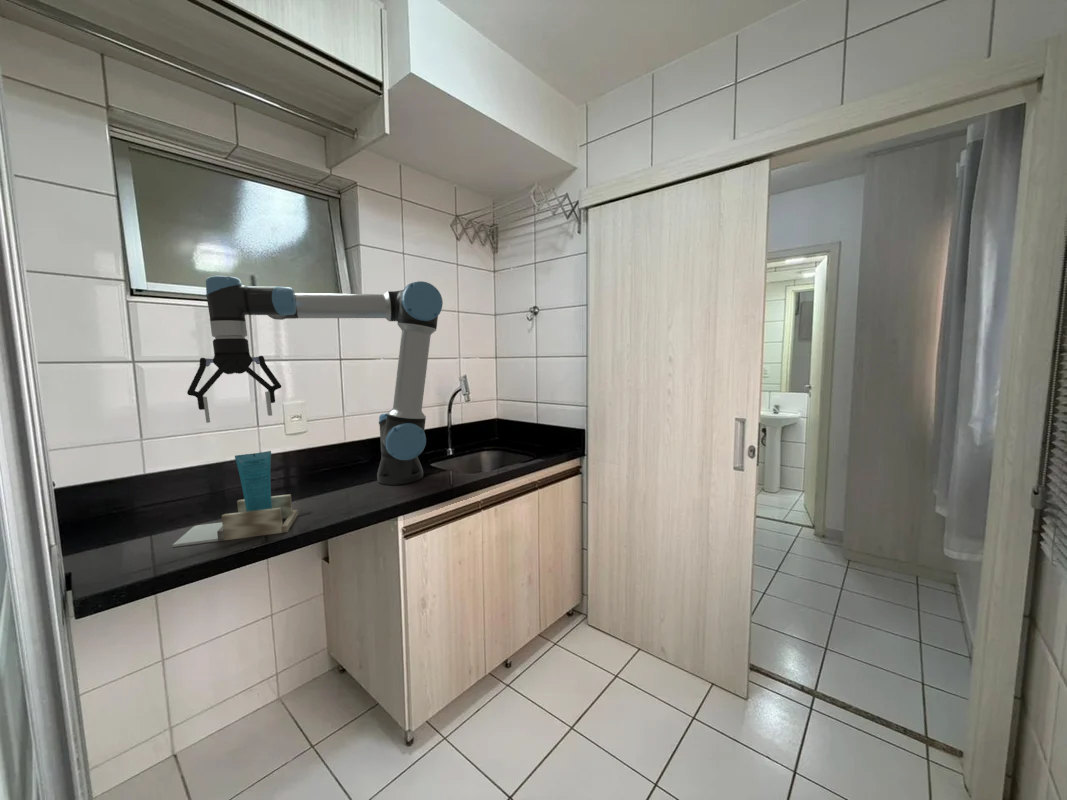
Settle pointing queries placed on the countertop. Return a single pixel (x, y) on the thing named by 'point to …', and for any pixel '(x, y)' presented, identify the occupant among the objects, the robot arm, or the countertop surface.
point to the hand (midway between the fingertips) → (240, 418)
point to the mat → (200, 535)
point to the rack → (258, 520)
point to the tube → (255, 479)
